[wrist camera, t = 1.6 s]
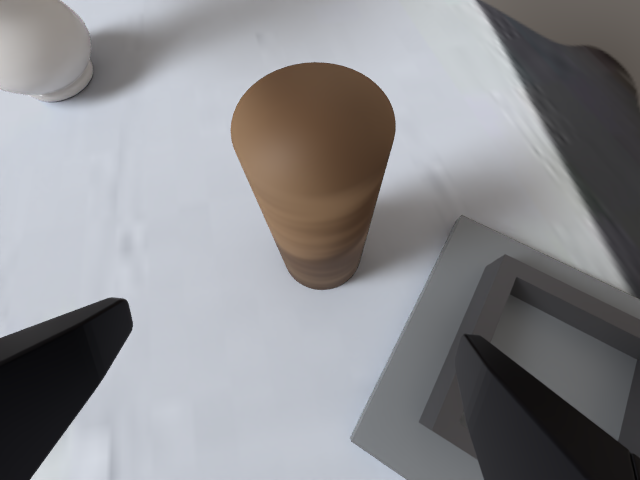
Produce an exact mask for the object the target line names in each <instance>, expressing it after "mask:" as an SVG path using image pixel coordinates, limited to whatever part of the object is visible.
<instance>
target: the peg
mask: <svg viewBox="0 0 640 480" xmlns="http://www.w3.org/2000/svg"><path fill="white" fill-rule="evenodd" d="M394 136H395V116H394V111H393V108H392V106H391V103H390V101H389V100H388V98H387V96H386V95H385V93H384V92H383V91H382V90H381V88H380V87H379V86H378V85H377V84H376V83H374V82H373V81H372V80H371V79H369V78H368V77H366V76H365V75H363V74H361V73H359V72H357V71H355V70H353V69H350V68H347V67H344V66H340V65H336V64H330V63H317V62H313V63H302V64H296V65H291V66H288V67H284V68H282V69H279V70H276V71H274V72H272V73H270V74H268V75H266V76H265V77H263V78H262V79H260V80H259V81H257V82H256V83H255V84H254V85H252V86H251V87H250V88H249V89H248V90H247V91H246V93H245V94H244V95H243V97H242V98H241V99H240V101H239V103H238V104H237V106H236V109H235V111H234V114H233V117H232V122H231V139H232V143H233V147H234V150H235V152H236V154H237V157H238V159H239V161H240V163H241V166H242V168H243V170H244V172H245V175H246V177H247V179H248V181H249V184H250V186H251V188H252V190H253V193H254V195H255V197H256V199H257V202H258V204H259V206H260V208H261V211H262V213H263V215H264V218H265V220H266V222H267V224H268V227H269V229H270V231H271V233H272V236H273V238H274V240H275V242H276V245H277V247H278V249H279V251H280V254H281V256H282V258H283V260H284V263H285V265H286V267H287V269H288V271H289V273H290V274H291V276H292V277H293V278H294V279H295V280H296V281H297V282H299V283H300V284H302V285H304V286H306V287H309V288H312V289H317V290H327V289H332V288H335V287H338V286H340V285H342V284H344V283H345V282H346V281H348V280H349V279H350V278H351V277H352V276H353V274H354V273H355V271H356V270H357V268H358V265H359V262H360V259H361V255H362V252H363V248H364V244H365V241H366V237H367V234H368V230H369V227H370V223H371V219H372V216H373V212H374V209H375V205H376V201H377V198H378V194H379V191H380V187H381V184H382V180H383V176H384V173H385V169H386V166H387V162H388V159H389V155H390V151H391V148H392V144H393V141H394Z"/></svg>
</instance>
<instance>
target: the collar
mask: <svg viewBox="0 0 640 480" xmlns="http://www.w3.org/2000/svg"><path fill="white" fill-rule="evenodd" d="M464 333H468V334H478V335H481V336H482V337H484V338H485V339H486V340H487V341H489V342H490V343H491V344H493V345H494V346H495V347H497V348H498V349H499V350H500V351H502V352H503V353H504V354H506V355H507V356H508V357H509V358H511V359H512V360H513V361H515V362H516V363H517V364H519V365H520V366H521V367H522V368H524V369H525V370H526V371H528V372H529V373H530V374H531V375H533V376H534V377H535V378H537V379H538V380H539V381H541V382H542V383H543V384H544V385H546V386H547V387H548V388H550V389H551V390H552V391H553V392H555V393H556V394H557V395H559V396H560V397H561V398H563V399H564V400H565V401H566V402H568V403H569V404H570V405H572V406H573V407H574V408H576V409H577V410H578V411H579V412H581V413H582V414H583V415H585V416H586V417H587V418H588V419H590V420H591V421H592V422H594V423H595V424H596V425H598V426H599V427H600V428H601V429H603V430H604V431H605V432H607V433H608V434H609V435H610V436H612V437H613V438H614V439H616V440H617V441H618V442H620V443H621V444H622V445H623V446H625V447H626V448H627V449H628V450H629V452H630V453H634V454H635V455H637V456H638V457H639V458H640V299H638V298H636V297H634V296H632V295H630V294H627V293H625V292H623V291H621V290H619V289H617V288H615V287H613V286H611V285H608V284H606V283H604V282H602V281H600V280H598V279H596V278H594V277H592V276H589V275H587V274H585V273H583V272H581V271H579V270H577V269H575V268H573V267H570V266H568V265H566V264H564V263H562V262H560V261H558V260H556V259H554V258H552V257H549V256H547V255H545V254H543V253H541V252H539V251H537V250H535V249H533V248H530V247H528V246H526V245H524V244H522V243H520V242H518V241H516V240H514V239H511V238H509V237H507V236H505V235H503V234H501V233H499V232H497V231H495V230H492V229H490V228H488V227H486V226H484V225H482V224H480V223H478V222H476V221H474V220H471V219H469V218H467V217H465V216H463V215H461V216H460V218H459V219H458V220H457V221H456V223H455V225H454V227H453V229H452V231H451V233H450V235H449V237H448V239H447V241H446V243H445V245H444V248H443V250H442V252H441V254H440V256H439V258H438V260H437V262H436V264H435V266H434V268H433V270H432V272H431V274H430V276H429V278H428V280H427V282H426V284H425V286H424V288H423V290H422V292H421V294H420V296H419V299H418V301H417V303H416V305H415V307H414V309H413V311H412V313H411V315H410V317H409V319H408V321H407V323H406V325H405V327H404V329H403V331H402V333H401V335H400V337H399V339H398V341H397V343H396V345H395V347H394V350H393V352H392V354H391V356H390V358H389V360H388V362H387V364H386V366H385V368H384V370H383V372H382V374H381V376H380V378H379V380H378V382H377V384H376V386H375V388H374V390H373V392H372V394H371V396H370V398H369V400H368V403H367V405H366V407H365V409H364V411H363V413H362V415H361V417H360V419H359V421H358V423H357V425H356V427H355V429H354V431H353V433H352V435H351V437H350V438H351V442H353V443H354V444H356V445H357V446H359V447H360V448H362V449H363V450H365V451H366V452H367V453H369V454H370V455H372V456H373V457H375V458H376V459H378V460H379V461H381V462H382V463H383V464H385V465H386V466H388V467H389V468H391V469H392V470H394V471H395V472H397V473H398V474H399V475H401V476H402V477H404V478H405V479H407V480H484V478H483V475H482V472H481V469H480V466H479V463H478V460H477V456H476V453H475V450H474V447H473V444H472V441H471V438H470V434H469V431H468V427H467V424H466V419H465V415H464V410H463V405H462V400H461V395H460V390H459V386H458V381H457V376H456V371H455V365H454V360H455V355H456V352H457V348H458V345H459V341H460V338H461V336H462V335H463V334H464Z"/></svg>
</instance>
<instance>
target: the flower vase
mask: <svg viewBox="0 0 640 480" xmlns="http://www.w3.org/2000/svg"><path fill="white" fill-rule="evenodd" d="M90 56H91V37H90V33H89V31H88V29H87V27H86V25H85V23H84V22H83V20H82V19H81V18H80V16H79V15H78V14H77V13H75V12H74V11H73V10H72V9H71V8H70V7H68V6H67V5H66V4H65V3H63V2H62V1H61V0H0V90H3V91H6V92H10V93H16V94H22V95H30V96H31V97H33V98H35V99H37V100H40V101H45V102H54V101H60V100H65V99H67V98H70V97H72V96H74V95H76V94H77V93H79V92H80V91H82V90H83V89H84V88H85V87H86V86H87V85H88V83H89V81H90V80H91V78H92V75H93V65H92V63H91V61H90Z"/></svg>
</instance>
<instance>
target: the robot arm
mask: <svg viewBox="0 0 640 480" xmlns="http://www.w3.org/2000/svg"><path fill="white" fill-rule="evenodd" d="M132 327H133V321H132V317H131V312H130V308H129V304H128V302H127V300H125V299H123V298H112V297H111V298H107V299H104V300H101V301H99V302H96V303H93V304H91V305H88V306H85V307H83V308H80V309H77V310H75V311H72V312H69V313H66V314H64V315H61V316H58V317H56V318H53V319H50V320H48V321H45V322H42V323H39V324H37V325H34V326H31V327H29V328H26V329H23V330H21V331H18V332H15V333H13V334H10V335H7V336H4V337H2V338H0V480H30V479H31V478H32V476H33V475H34V473H35V472H36V471H37V469H38V468H39V467H40V465H41V464H42V462H43V461H44V460H45V458H46V457H47V456H48V454H49V453H50V451H51V450H52V449H53V447H54V446H55V445H56V443H57V442H58V441H59V439H60V438H61V436H62V435H63V434H64V432H65V431H66V430H67V428H68V427H69V425H70V424H71V423H72V421H73V420H74V419H75V417H76V416H77V414H78V413H79V412H80V410H81V409H82V408H83V406H84V405H85V403H86V402H87V401H88V399H89V398H90V397H91V395H92V394H93V393H94V391H95V390H96V388H97V387H98V385H99V384H100V383H101V381H102V379H103V378H104V376H105V375H106V373H107V371H108V370H109V368H110V366H111V365H112V363H113V361H114V360H115V358H116V356H117V355H118V353H119V351H120V350H121V348H122V346H123V345H124V343H125V341H126V340H127V338H128V336H129V335H130V333H131V331H132ZM454 365H455V371H456V376H457V381H458V386H459V390H460V395H461V400H462V405H463V410H464V415H465V419H466V424H467V427H468V431H469V434H470V438H471V441H472V444H473V447H474V450H475V453H476V456H477V460H478V463H479V466H480V469H481V472H482V475H483V478H484V480H640V458H639V457H638V456H637V455H635V454H634V453H630V452H629V450H628V449H627V448H626V447H625V446H623V445H622V444H621V443H620V442H618V441H617V440H616V439H614V438H613V437H612V436H610V435H609V434H608V433H607V432H605V431H604V430H603V429H601V428H600V427H599V426H598V425H596V424H595V423H594V422H592V421H591V420H590V419H588V418H587V417H586V416H585V415H583V414H582V413H581V412H579V411H578V410H577V409H576V408H574V407H573V406H572V405H570V404H569V403H568V402H566V401H565V400H564V399H563V398H561V397H560V396H559V395H557V394H556V393H555V392H553V391H552V390H551V389H550V388H548V387H547V386H546V385H544V384H543V383H542V382H541V381H539V380H538V379H537V378H535V377H534V376H533V375H531V374H530V373H529V372H528V371H526V370H525V369H524V368H522V367H521V366H520V365H519V364H517V363H516V362H515V361H513V360H512V359H511V358H509V357H508V356H507V355H506V354H504V353H503V352H502V351H500V350H499V349H498V348H497V347H495V346H494V345H493V344H491V343H490V342H489V341H487V340H486V339H485V338H484V337H482V336H481V335H478V334H468V333H464V334H463V335H462V336H461V338H460V341H459V345H458V348H457V352H456V355H455V360H454Z"/></svg>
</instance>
